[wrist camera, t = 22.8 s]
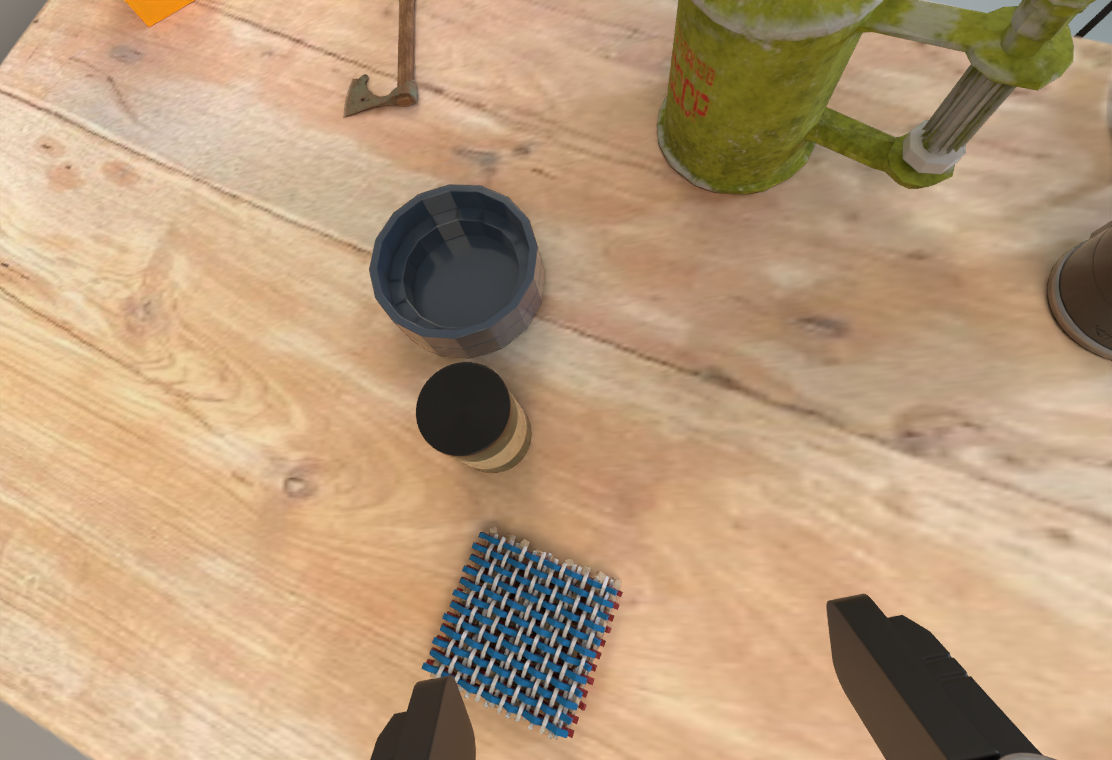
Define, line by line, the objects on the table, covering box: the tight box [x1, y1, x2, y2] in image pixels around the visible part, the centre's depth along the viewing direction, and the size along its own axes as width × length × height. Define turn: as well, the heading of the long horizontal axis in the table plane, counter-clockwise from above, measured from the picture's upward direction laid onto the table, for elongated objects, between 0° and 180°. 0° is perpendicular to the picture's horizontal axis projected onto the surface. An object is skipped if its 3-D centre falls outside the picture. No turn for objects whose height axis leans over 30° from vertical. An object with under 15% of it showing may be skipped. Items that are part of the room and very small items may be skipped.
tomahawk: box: [343, 0, 418, 117], centre depth 53 cm, size 20×7×1 cm, turn 3°
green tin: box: [416, 362, 531, 473], centre depth 37 cm, size 6×6×9 cm
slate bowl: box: [369, 184, 545, 358], centre depth 43 cm, size 12×12×5 cm
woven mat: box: [422, 527, 623, 739], centre depth 37 cm, size 10×11×2 cm
